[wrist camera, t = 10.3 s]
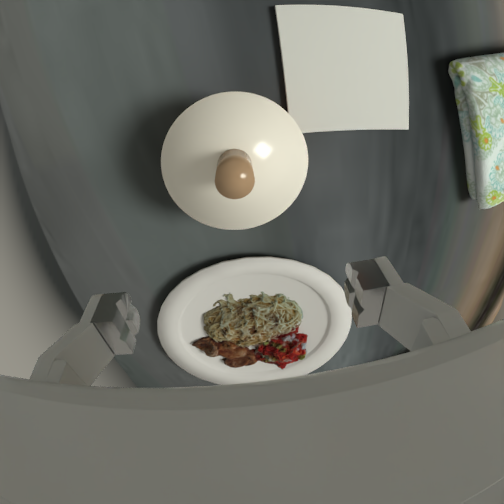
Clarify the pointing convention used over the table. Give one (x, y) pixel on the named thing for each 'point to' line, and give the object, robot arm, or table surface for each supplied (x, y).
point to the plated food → (254, 320)
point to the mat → (344, 67)
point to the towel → (481, 124)
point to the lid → (234, 160)
